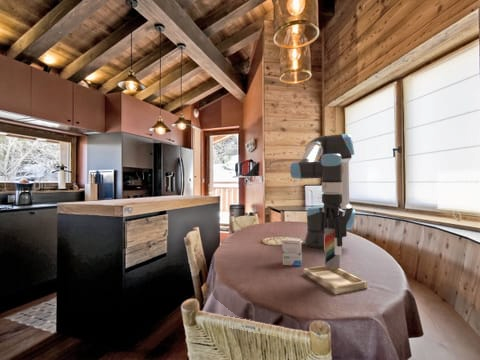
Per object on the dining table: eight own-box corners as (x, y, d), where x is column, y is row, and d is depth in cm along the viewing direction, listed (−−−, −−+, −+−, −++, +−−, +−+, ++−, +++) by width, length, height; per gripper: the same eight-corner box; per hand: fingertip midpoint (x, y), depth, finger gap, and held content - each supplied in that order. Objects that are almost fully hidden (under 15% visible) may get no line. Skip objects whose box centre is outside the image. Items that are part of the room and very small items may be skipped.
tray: (303, 274, 108) (303, 268, 108) (331, 269, 112) (331, 264, 112) (335, 294, 89) (335, 287, 89) (367, 288, 93) (367, 281, 93)
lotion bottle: (322, 264, 103) (321, 215, 103) (336, 264, 103) (335, 214, 103) (328, 269, 97) (328, 217, 97) (343, 269, 98) (342, 217, 98)
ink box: (302, 263, 122) (301, 238, 121) (301, 266, 117) (300, 241, 117) (284, 261, 124) (283, 237, 124) (282, 264, 120) (281, 239, 120)
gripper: (310, 192, 108) (310, 247, 108) (340, 195, 90) (341, 260, 90) (324, 191, 110) (325, 245, 110) (357, 194, 92) (358, 257, 93)
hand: (332, 252), depth 100 cm, fingers closed on lotion bottle, 6 cm apart
